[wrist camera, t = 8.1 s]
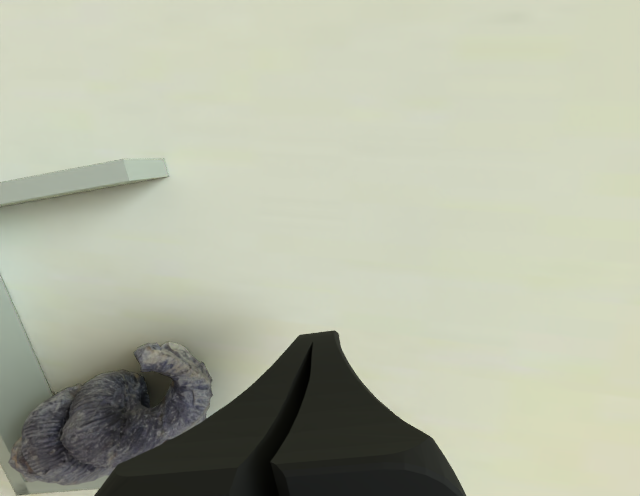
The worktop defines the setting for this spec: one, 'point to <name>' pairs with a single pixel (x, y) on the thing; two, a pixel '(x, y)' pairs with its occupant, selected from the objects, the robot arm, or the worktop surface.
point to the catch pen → (5, 326)
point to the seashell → (111, 419)
